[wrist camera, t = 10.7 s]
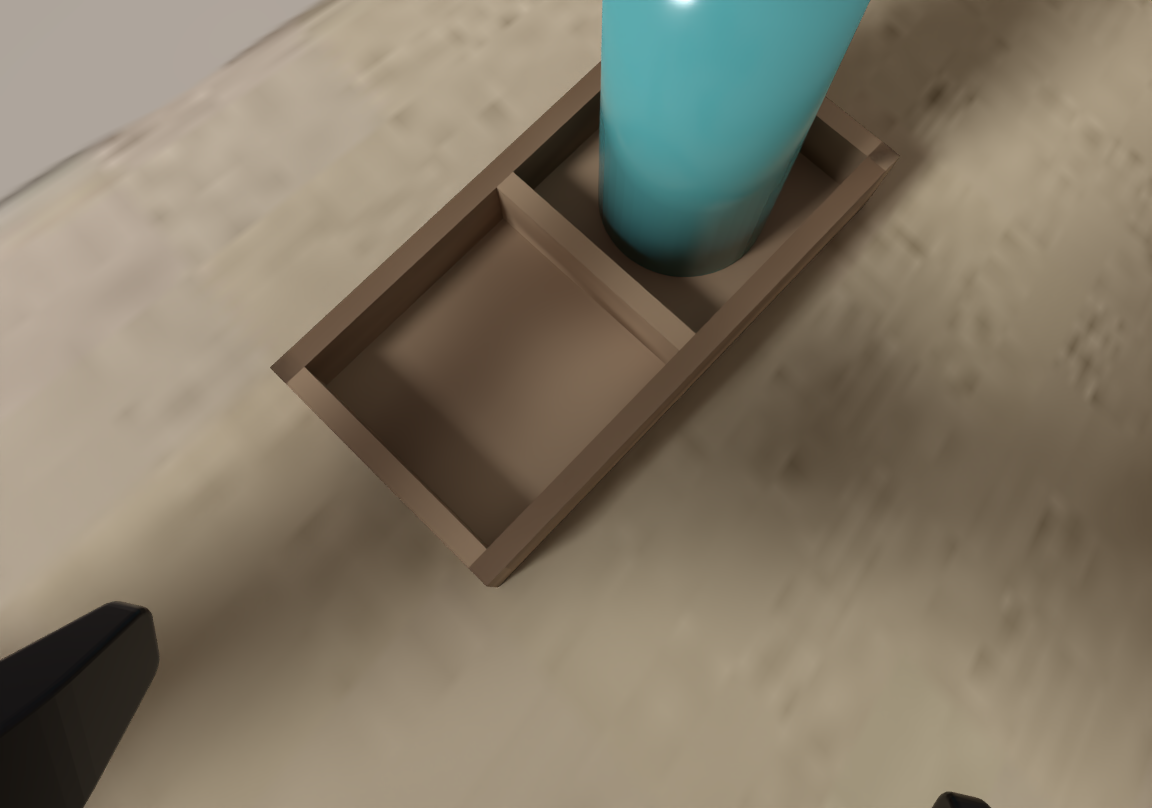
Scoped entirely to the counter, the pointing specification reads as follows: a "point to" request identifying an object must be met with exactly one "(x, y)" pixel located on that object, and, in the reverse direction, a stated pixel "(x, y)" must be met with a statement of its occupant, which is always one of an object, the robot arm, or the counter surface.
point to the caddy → (546, 331)
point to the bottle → (708, 119)
